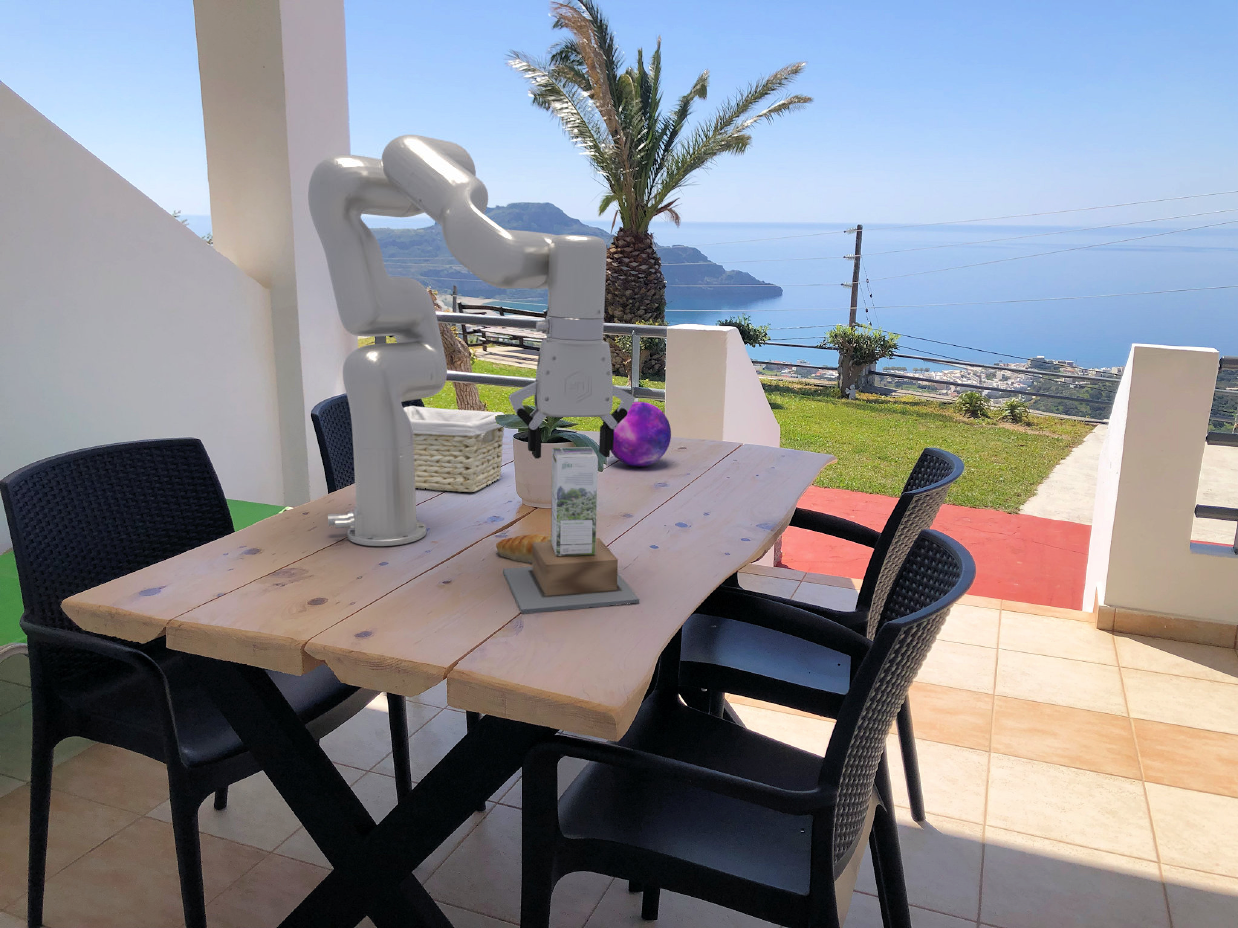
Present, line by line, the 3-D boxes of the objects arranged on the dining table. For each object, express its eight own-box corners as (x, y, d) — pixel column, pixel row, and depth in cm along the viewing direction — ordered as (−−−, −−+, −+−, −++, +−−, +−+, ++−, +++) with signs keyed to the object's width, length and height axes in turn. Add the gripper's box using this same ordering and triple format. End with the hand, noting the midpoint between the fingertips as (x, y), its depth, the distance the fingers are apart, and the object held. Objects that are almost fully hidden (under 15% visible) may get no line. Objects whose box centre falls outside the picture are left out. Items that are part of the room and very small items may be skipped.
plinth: (542, 601, 114) (542, 566, 113) (527, 573, 124) (527, 541, 123) (622, 595, 117) (623, 560, 116) (601, 568, 127) (601, 536, 126)
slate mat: (521, 613, 110) (521, 609, 109) (503, 572, 125) (503, 568, 124) (639, 603, 114) (639, 598, 114) (607, 564, 129) (608, 560, 129)
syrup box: (590, 543, 123) (591, 445, 120) (596, 556, 117) (598, 453, 114) (550, 544, 122) (551, 446, 119) (555, 558, 116) (556, 454, 113)
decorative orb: (671, 474, 189) (673, 407, 186) (604, 472, 190) (605, 406, 186) (668, 459, 204) (670, 398, 201) (606, 458, 204) (607, 396, 201)
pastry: (489, 560, 131) (488, 536, 130) (506, 547, 137) (506, 524, 136) (546, 566, 128) (546, 542, 127) (561, 553, 134) (561, 530, 134)
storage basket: (369, 486, 173) (365, 415, 170) (409, 470, 188) (407, 404, 185) (475, 497, 167) (474, 423, 163) (509, 479, 182) (508, 411, 179)
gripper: (515, 332, 107) (512, 463, 111) (645, 335, 112) (638, 461, 116) (506, 326, 114) (504, 450, 118) (629, 330, 119) (622, 448, 123)
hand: (570, 455), depth 117 cm, fingers open, 9 cm apart
